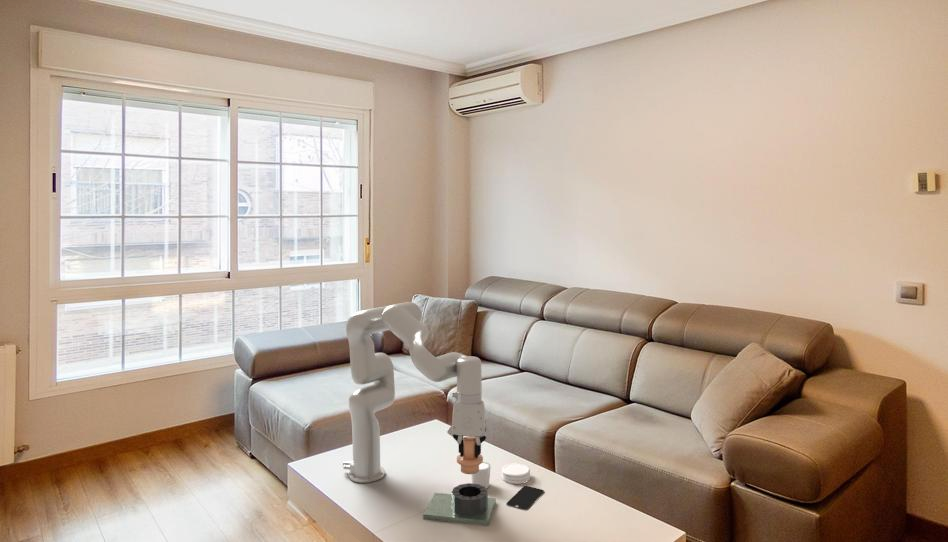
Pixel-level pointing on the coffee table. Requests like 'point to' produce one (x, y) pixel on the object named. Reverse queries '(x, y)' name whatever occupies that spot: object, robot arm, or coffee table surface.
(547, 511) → the coffee table surface
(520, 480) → the white short cylinder
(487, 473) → the white grey cylinder
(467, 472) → the cap
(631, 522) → the coffee table surface
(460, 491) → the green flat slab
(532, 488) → the smartphone
